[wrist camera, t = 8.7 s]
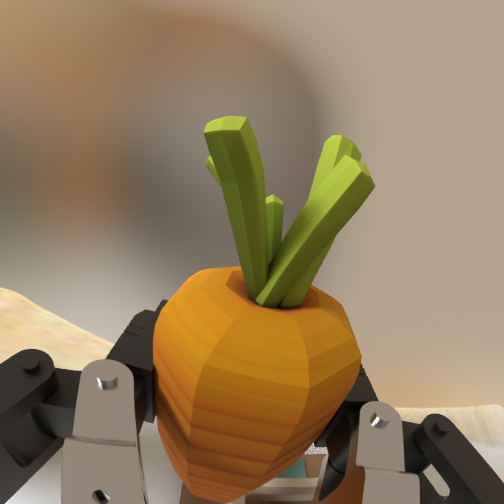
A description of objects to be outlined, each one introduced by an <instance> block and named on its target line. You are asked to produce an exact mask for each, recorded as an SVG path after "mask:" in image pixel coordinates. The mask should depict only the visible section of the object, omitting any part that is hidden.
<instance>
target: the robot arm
mask: <svg viewBox="0 0 504 504" xmlns="http://www.w3.org/2000/svg"><path fill="white" fill-rule="evenodd" d="M167 302H168V300H162V301H161V303H160V305H159V306H158V308H157V309H156V311H155V312H154V311H150V310H144V311H142V312H140V313H138V314H136V315H135V316H134V318H133V319H132V320H131V322H130V323H129V326H127V328H126V329H125V330H124V333H122V335H121V336H120V338H119V339H118V341H117V342H116V344H115V345H114V347H113V348H112V350H111V351H110V353H109V354H108V356H107V357H106V359H102V360H96V361H93V362H91V363H89V364H88V365H87V366H86V367H85V368H84V369H83V371H74V370H67V369H60V368H55V367H54V363H53V360H52V359H51V357H50V356H49V355H48V354H47V353H45V352H43V351H41V350H37V349H26V350H22V351H20V352H18V353H16V354H15V355H13V356H12V357H10V358H9V359H7V360H6V361H4V362H3V363H1V364H0V504H5V503H6V502H7V501H8V500H9V499H10V498H11V497H12V496H13V495H14V494H15V493H16V492H17V491H18V490H19V489H20V488H21V487H22V486H23V485H24V484H25V483H26V482H27V481H28V480H29V479H30V478H31V477H32V476H33V475H34V474H35V473H36V472H37V471H38V470H39V469H40V468H41V467H42V466H43V465H44V464H45V463H46V462H47V461H48V460H49V459H50V458H51V457H52V456H53V455H54V454H55V453H56V452H57V451H58V450H59V449H60V448H61V447H62V446H63V455H62V472H61V504H149V502H148V497H147V492H146V486H145V480H144V473H143V466H142V458H141V449H140V439H139V433H140V430H141V427H142V424H143V422H144V421H146V422H149V423H153V422H154V419H155V416H156V407H155V365H154V363H153V336H154V330H155V324H156V321H157V319H158V317H159V315H160V312H161V310H162V308H163V307H164V306H165V305H166V304H167ZM314 445H315V447H327V449H328V453H327V455H326V456H325V457H324V459H323V462H322V466H321V470H320V474H319V478H318V482H317V486H316V490H315V494H314V497H313V501H312V504H504V483H503V482H502V480H501V479H500V478H499V477H498V476H497V474H496V473H495V472H494V471H493V469H492V468H491V467H490V466H489V465H488V463H487V462H486V461H485V460H484V459H483V457H482V456H481V455H480V454H479V453H478V452H477V450H476V449H475V448H474V447H473V446H472V445H471V443H470V442H469V441H468V440H467V439H466V438H465V436H464V435H463V434H462V433H461V432H460V431H459V430H458V428H457V427H456V426H455V425H454V424H453V423H452V422H451V421H450V420H449V419H448V418H446V417H445V416H443V415H440V414H430V415H428V416H427V417H426V418H425V419H424V420H423V421H422V422H421V424H416V423H411V422H405V421H401V417H400V415H399V414H398V412H397V411H396V410H395V409H394V408H393V407H391V406H389V405H388V404H385V403H383V402H379V401H378V399H377V396H376V394H375V392H374V390H373V388H372V385H371V383H370V381H369V379H368V377H367V376H366V373H365V370H364V368H362V364H360V370H359V373H358V376H357V378H356V381H355V383H354V385H353V387H352V388H351V390H350V392H349V393H348V395H347V396H346V398H345V399H344V401H343V402H342V404H341V405H340V407H339V408H338V410H337V411H336V413H335V414H334V416H333V417H332V419H331V420H330V421H329V423H328V424H327V426H326V427H325V428H324V430H323V431H322V432H321V434H320V435H319V436H318V437H317V438H316V440H315V441H314ZM431 464H432V465H433V466H434V467H435V469H436V470H437V471H438V473H439V474H440V475H441V477H442V478H443V479H444V481H445V482H446V483H447V485H448V486H449V488H450V494H449V495H448V496H446V497H443V496H440V495H439V494H438V493H437V491H436V490H435V489H434V487H433V486H432V484H431V483H430V482H429V480H428V479H427V477H426V476H425V475H424V473H423V471H424V470H425V469H426V468H427V467H429V466H430V465H431Z"/></svg>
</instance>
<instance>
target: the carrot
mask: <svg viewBox="0 0 504 504" xmlns="http://www.w3.org/2000/svg"><path fill="white" fill-rule="evenodd" d="M204 135H205V139H206V142H207V146H208V149H209V152H210V155H211V156H210V157H209V158H208V159H207V161H206V167H207V169H208V170H209V172H210V173H211V174H212V176H213V177H214V178H215V179H216V181H217V182H218V183H219V185H220V186H221V187H222V190H223V194H224V198H225V202H226V206H227V210H228V215H229V219H230V222H231V227H232V231H233V235H234V239H235V243H236V247H237V251H238V256H239V260H240V263H241V266H239V267H226V268H212V269H207V270H201V271H199V272H198V273H196V274H194V275H193V276H191V277H189V278H188V279H187V281H186V282H185V283H184V284H183V285H182V286H181V288H180V289H179V290H178V291H177V292H176V293H175V294H174V295H173V297H172V298H171V299H170V300H169V301H168V302H167V304H166V305H165V306H164V307H163V308H162V310H161V312H160V315H159V317H158V319H157V321H156V324H155V330H154V336H153V363H154V365H155V407H156V416H157V424H158V430H159V433H160V436H161V439H162V442H163V445H164V447H165V450H166V452H167V455H168V457H169V459H170V461H171V463H172V465H173V467H174V469H175V470H176V472H177V473H178V475H179V476H180V477H181V479H182V480H183V482H184V483H185V485H186V486H187V487H188V489H189V490H190V492H191V493H192V494H193V495H195V496H197V497H201V498H205V499H209V500H213V501H217V502H223V503H230V502H232V501H234V500H236V499H238V498H240V497H242V496H244V495H246V494H248V493H250V492H251V491H253V490H255V489H257V488H259V487H260V486H262V485H264V484H266V483H267V482H269V481H271V480H272V479H274V478H276V477H277V476H278V475H280V474H281V473H282V472H284V471H285V470H286V469H288V468H289V467H290V466H292V465H293V464H294V463H296V461H297V460H298V459H299V458H300V457H301V456H302V455H303V454H304V453H305V451H306V450H307V449H308V448H309V447H310V446H311V444H312V443H313V442H314V441H315V440H316V438H317V437H318V436H319V435H320V434H321V432H322V431H323V430H324V428H325V427H326V426H327V424H328V423H329V421H330V420H331V419H332V417H333V416H334V414H335V413H336V411H337V410H338V408H339V407H340V405H341V404H342V402H343V401H344V399H345V398H346V396H347V395H348V393H349V392H350V390H351V388H352V387H353V385H354V383H355V381H356V378H357V376H358V373H359V370H360V364H361V357H362V356H361V353H360V350H359V348H358V345H357V342H356V339H355V336H354V333H353V331H352V328H351V325H350V322H349V320H348V317H347V315H346V313H345V311H344V308H343V306H342V305H341V304H340V303H339V302H337V301H336V300H335V299H334V298H333V297H331V296H329V295H328V294H326V293H324V292H323V291H321V290H319V289H318V288H316V287H314V286H313V285H311V283H312V281H313V279H314V277H315V275H316V273H317V272H318V270H319V268H320V266H321V264H322V262H323V260H324V258H325V257H326V255H327V253H328V251H329V249H330V247H331V245H332V243H333V241H334V239H335V237H336V235H337V233H338V232H339V231H340V230H341V229H342V228H343V227H344V225H345V224H346V223H347V222H348V221H349V220H350V218H351V217H352V216H353V215H354V214H355V213H356V212H357V210H358V209H359V208H360V207H361V205H362V204H363V203H364V201H365V200H366V199H367V197H368V196H369V194H370V193H371V192H372V190H373V189H374V187H375V185H374V182H373V180H372V178H371V176H370V174H369V171H368V169H367V166H366V164H364V163H362V162H360V159H361V153H360V152H359V150H358V148H357V147H356V145H355V144H354V142H352V141H351V140H349V139H348V138H346V137H345V136H343V135H333V136H332V137H330V138H329V139H328V140H327V141H326V142H325V144H324V147H323V150H322V154H321V157H320V160H319V163H318V166H317V170H316V173H315V177H314V181H313V184H312V188H311V192H310V196H309V199H308V202H307V203H306V204H305V206H304V207H303V209H302V210H301V211H300V213H299V214H298V216H297V218H296V219H295V221H294V222H293V224H292V226H291V227H290V229H289V231H288V232H287V234H286V236H285V237H284V239H283V241H282V242H281V237H282V222H283V207H284V204H283V201H281V200H280V199H278V198H277V197H276V196H274V195H271V196H269V197H267V198H265V182H264V169H263V164H262V160H261V157H260V152H259V148H258V144H257V140H256V137H255V135H254V132H253V130H252V127H251V126H250V123H249V121H248V119H247V117H238V116H227V117H223V118H219V119H215V120H213V121H211V122H209V123H207V125H206V127H205V130H204Z"/></svg>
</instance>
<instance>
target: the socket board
mask: <svg viewBox="0 0 504 504" xmlns="http://www.w3.org/2000/svg"><path fill="white" fill-rule="evenodd" d="M326 455H327V454H318V455H302V456H301V457H300V458H299V459H298V460H297V461H296V463H294V464H293V465H292V466H290V467H289V468H288V469H286V470H285V471H284V472H282V473H281V474H280V475H278V476H277V477H276V478H274V479H272V480H271V481H269V482H267V483H266V484H264V485H262V486H260V487H259V488H257V489H255V490H253V491H251V492H250V493H248V494H246V495H244V496H242V497H240V498H238V499H236V500H234V501H232V502H230V503H223V502H217V501H213V500H209V499H205V498H201V497H197V496H195V495H193V494H192V493H191V492H190V490H189V489H188V487H187V486H186V485H185V483H184V482H183V485H182V491H181V497H180V503H179V504H312V501H313V497H314V494H315V490H316V486H317V482H318V478H319V474H320V470H321V466H322V462H323V459H324V457H325V456H326Z"/></svg>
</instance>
